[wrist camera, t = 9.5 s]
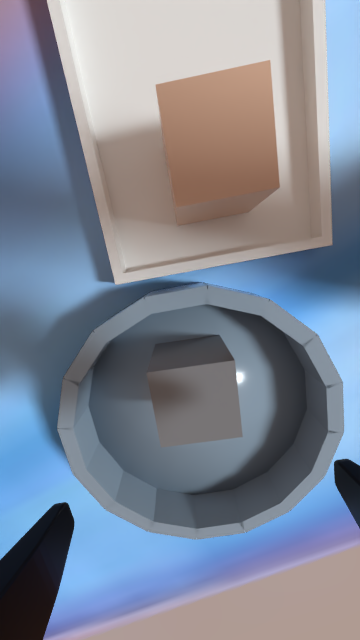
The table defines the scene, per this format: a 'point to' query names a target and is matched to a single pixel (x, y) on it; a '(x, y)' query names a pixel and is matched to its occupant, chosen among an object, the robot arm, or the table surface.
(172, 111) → the matte tan cube
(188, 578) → the table surface
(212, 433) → the gray chunky prism
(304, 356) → the bowl
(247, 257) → the parts tray
